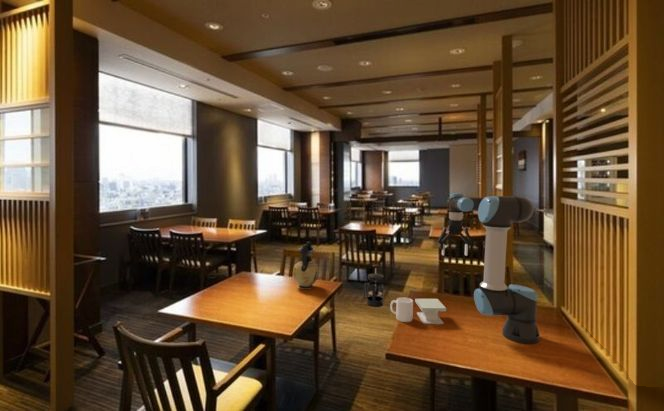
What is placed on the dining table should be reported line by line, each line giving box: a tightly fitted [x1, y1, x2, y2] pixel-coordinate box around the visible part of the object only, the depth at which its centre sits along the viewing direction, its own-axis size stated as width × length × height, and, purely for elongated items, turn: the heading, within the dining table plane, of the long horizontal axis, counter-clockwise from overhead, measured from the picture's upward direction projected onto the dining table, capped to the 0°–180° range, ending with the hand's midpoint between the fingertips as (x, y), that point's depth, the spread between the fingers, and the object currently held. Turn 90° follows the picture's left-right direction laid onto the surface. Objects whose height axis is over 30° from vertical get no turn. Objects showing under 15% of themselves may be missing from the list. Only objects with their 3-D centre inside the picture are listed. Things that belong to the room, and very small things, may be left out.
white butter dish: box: [416, 310, 444, 325], centre depth 184 cm, size 14×10×6 cm
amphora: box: [292, 240, 320, 290], centre depth 234 cm, size 18×17×30 cm
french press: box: [363, 264, 384, 308], centre depth 204 cm, size 12×9×23 cm
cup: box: [389, 296, 414, 323], centre depth 183 cm, size 8×12×10 cm
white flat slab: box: [414, 298, 447, 312], centre depth 184 cm, size 14×12×2 cm
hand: (454, 255), depth 209 cm, fingers open, 13 cm apart
